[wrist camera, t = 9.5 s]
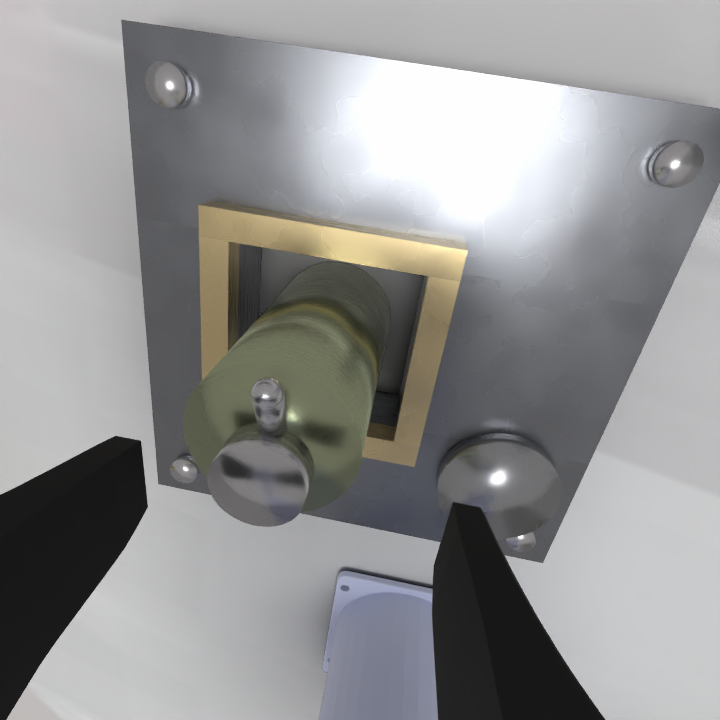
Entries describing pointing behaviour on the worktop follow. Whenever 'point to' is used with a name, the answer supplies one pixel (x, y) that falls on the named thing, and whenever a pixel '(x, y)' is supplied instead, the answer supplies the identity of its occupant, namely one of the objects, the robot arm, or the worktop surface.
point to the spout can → (292, 398)
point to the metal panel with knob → (417, 253)
